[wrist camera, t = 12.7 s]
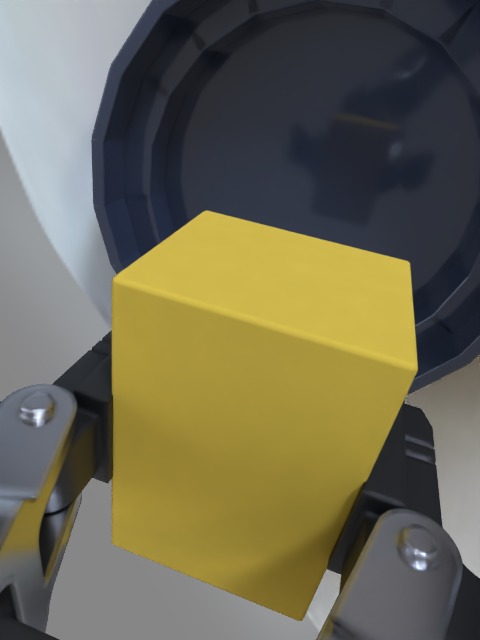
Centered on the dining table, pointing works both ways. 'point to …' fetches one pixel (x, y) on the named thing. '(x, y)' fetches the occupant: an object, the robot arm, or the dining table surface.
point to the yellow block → (252, 400)
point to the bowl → (307, 139)
